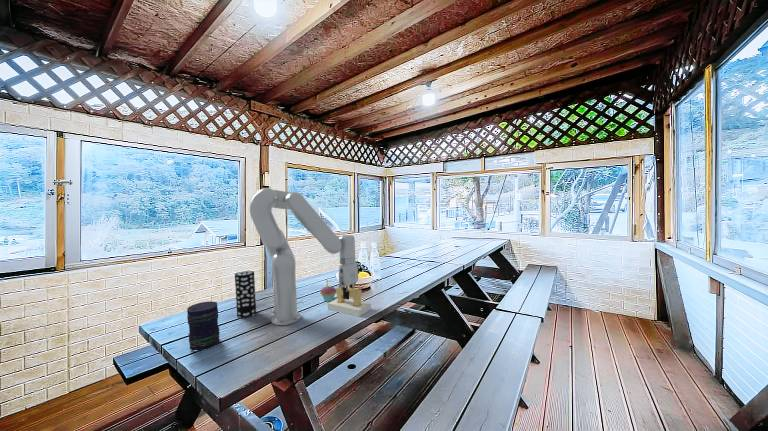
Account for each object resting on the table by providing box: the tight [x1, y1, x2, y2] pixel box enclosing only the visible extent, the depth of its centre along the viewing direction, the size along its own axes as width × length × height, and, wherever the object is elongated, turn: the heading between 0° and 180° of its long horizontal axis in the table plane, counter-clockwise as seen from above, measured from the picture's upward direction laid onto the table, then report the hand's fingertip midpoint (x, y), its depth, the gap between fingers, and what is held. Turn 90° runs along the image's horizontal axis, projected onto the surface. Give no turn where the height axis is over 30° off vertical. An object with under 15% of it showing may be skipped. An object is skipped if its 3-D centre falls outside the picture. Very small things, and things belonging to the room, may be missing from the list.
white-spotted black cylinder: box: [234, 270, 257, 319], centre depth 135 cm, size 8×8×20 cm
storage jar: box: [186, 301, 221, 351], centre depth 108 cm, size 10×10×15 cm
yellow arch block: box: [335, 286, 362, 307], centre depth 138 cm, size 13×3×9 cm, turn 59°
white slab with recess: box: [327, 298, 372, 317], centre depth 139 cm, size 19×10×3 cm, turn 59°
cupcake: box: [320, 279, 337, 302], centre depth 152 cm, size 9×8×12 cm
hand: (348, 297), depth 139 cm, fingers closed on yellow arch block, 3 cm apart
